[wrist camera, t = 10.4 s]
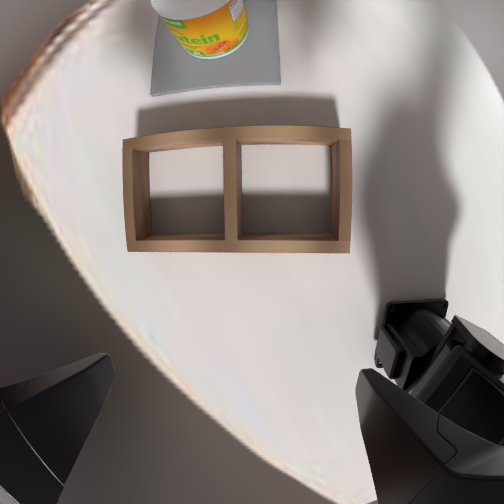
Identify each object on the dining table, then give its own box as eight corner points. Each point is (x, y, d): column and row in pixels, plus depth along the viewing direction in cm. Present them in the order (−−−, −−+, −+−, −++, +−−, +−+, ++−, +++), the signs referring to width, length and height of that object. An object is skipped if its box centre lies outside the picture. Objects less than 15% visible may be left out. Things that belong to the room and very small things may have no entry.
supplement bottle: (173, 59, 17) (114, -3, 8) (193, 9, 16) (152, -60, 7) (240, 64, 17) (212, -13, 8) (256, 13, 16) (242, -68, 6)
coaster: (275, -7, 16) (275, -11, 15) (280, 84, 18) (280, 82, 17) (163, 6, 16) (161, 3, 16) (153, 96, 19) (150, 94, 18)
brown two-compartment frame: (341, 135, 18) (350, 128, 16) (340, 244, 20) (349, 253, 18) (140, 143, 20) (122, 139, 17) (143, 243, 22) (127, 251, 19)
